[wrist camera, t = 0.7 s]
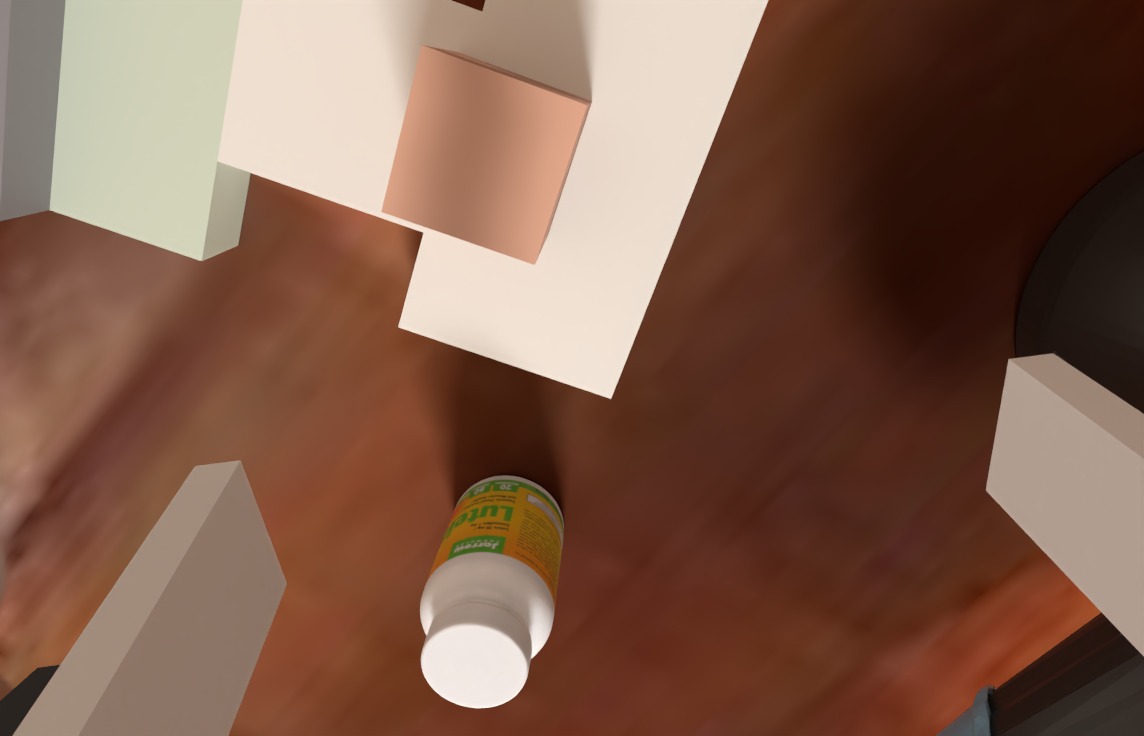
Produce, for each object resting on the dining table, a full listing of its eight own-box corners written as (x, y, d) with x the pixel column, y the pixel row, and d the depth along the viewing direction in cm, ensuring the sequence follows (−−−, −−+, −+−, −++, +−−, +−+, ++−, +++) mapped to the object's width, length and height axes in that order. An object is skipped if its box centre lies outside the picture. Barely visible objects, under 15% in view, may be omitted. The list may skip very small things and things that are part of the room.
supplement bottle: (523, 452, 35) (490, 582, 26) (586, 537, 36) (576, 688, 27) (432, 504, 36) (370, 646, 27) (496, 584, 38) (458, 743, 28)
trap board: (759, -10, 27) (792, -30, 22) (611, 372, 33) (610, 425, 28) (116, -255, 26) (-9, -339, 21) (76, 190, 31) (-29, 211, 26)
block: (592, 101, 26) (587, 104, 22) (548, 234, 28) (534, 264, 23) (456, 51, 26) (421, 45, 21) (420, 190, 28) (381, 211, 23)
